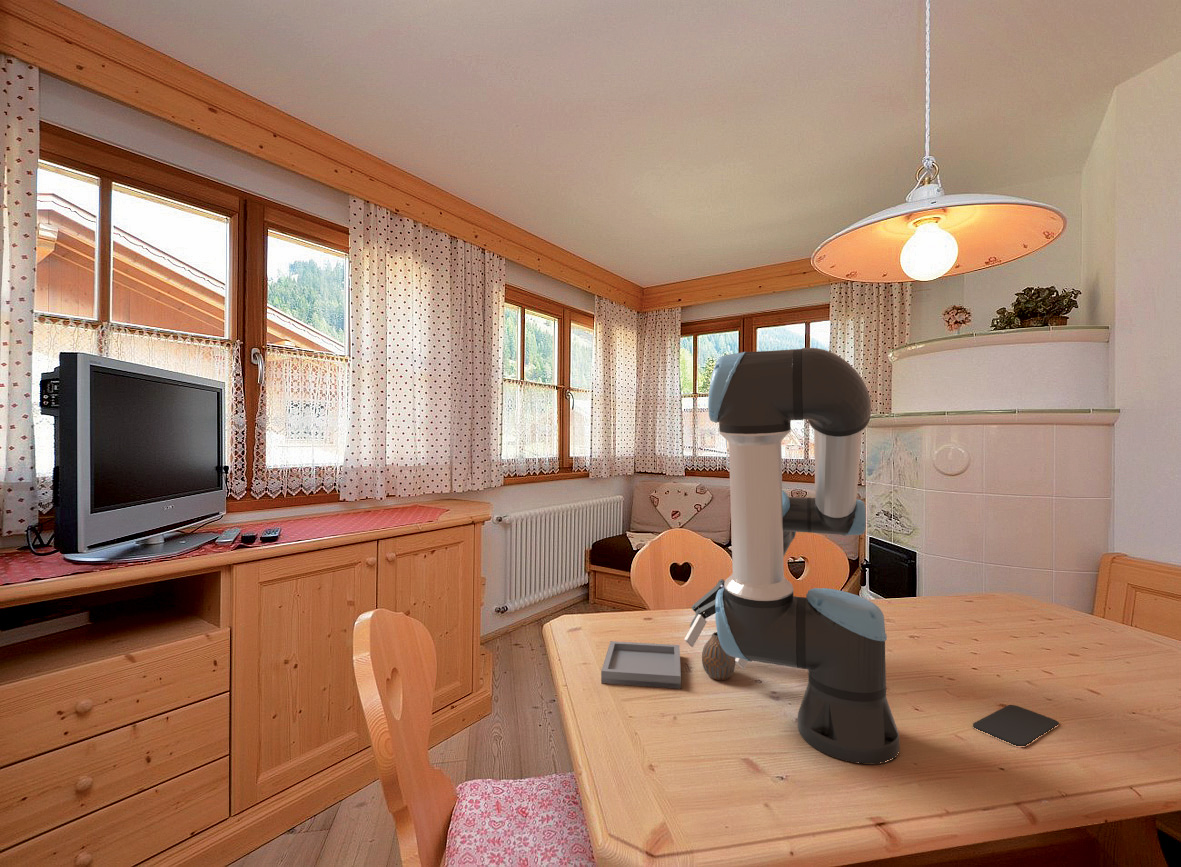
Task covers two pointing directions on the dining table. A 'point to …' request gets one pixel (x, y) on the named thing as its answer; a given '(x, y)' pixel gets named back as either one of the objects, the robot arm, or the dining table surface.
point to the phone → (1015, 725)
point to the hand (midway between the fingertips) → (712, 653)
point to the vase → (717, 660)
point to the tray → (642, 665)
